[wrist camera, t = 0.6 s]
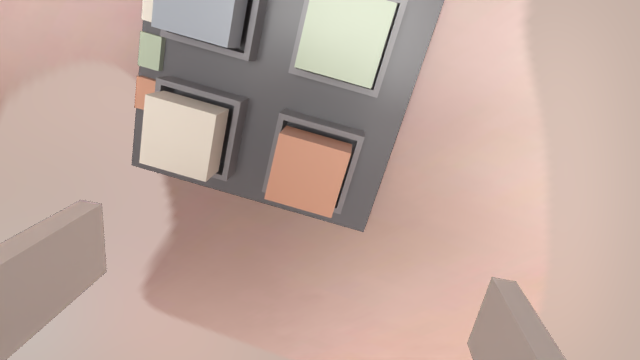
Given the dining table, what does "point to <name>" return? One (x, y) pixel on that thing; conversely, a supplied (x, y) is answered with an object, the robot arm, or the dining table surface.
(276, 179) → the terracotta key
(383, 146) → the keypad
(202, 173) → the cream key
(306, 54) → the sage key
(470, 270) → the dining table surface
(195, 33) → the slate key
